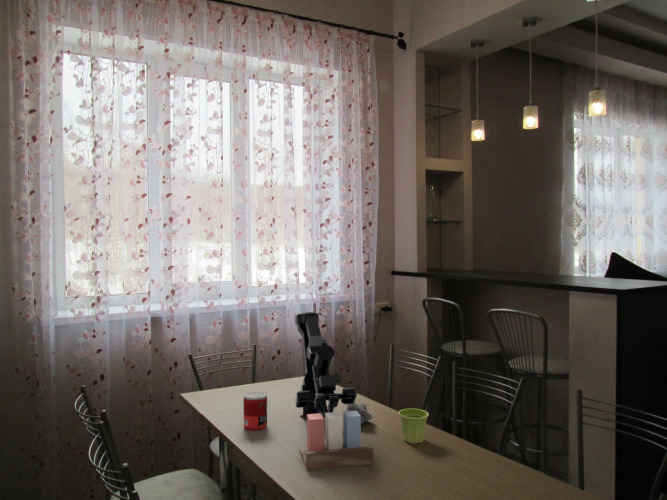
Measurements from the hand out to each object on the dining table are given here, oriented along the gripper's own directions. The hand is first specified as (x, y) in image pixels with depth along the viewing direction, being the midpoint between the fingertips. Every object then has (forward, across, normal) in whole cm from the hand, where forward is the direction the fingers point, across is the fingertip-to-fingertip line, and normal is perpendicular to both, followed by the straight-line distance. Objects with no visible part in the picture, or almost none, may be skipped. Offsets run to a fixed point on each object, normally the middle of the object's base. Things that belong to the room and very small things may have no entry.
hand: (330, 422), depth 162 cm
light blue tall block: (+8, +6, +1) cm, 10 cm away
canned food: (-12, -21, +23) cm, 33 cm away
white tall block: (+8, 0, +1) cm, 8 cm away
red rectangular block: (+8, -6, +1) cm, 10 cm away
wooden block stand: (+11, 0, +1) cm, 11 cm away
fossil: (-9, +14, +20) cm, 26 cm away
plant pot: (+5, +27, +6) cm, 28 cm away
